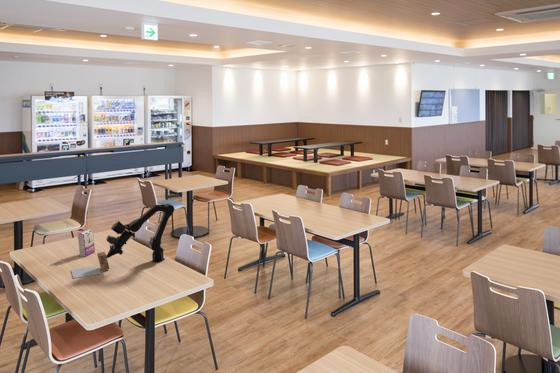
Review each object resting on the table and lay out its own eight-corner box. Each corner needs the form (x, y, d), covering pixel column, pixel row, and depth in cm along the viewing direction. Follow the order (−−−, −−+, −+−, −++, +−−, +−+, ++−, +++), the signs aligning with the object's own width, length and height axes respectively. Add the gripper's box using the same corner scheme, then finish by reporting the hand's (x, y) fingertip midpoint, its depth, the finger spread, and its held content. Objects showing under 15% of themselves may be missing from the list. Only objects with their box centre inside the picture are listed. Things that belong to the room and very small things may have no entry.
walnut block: (107, 265, 311) (104, 251, 309) (109, 269, 305) (105, 254, 303) (100, 268, 309) (97, 253, 307) (102, 271, 303) (98, 256, 301)
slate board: (97, 266, 313) (97, 265, 313) (101, 273, 299) (101, 273, 299) (71, 270, 305) (70, 269, 305) (73, 278, 292) (73, 278, 291)
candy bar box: (88, 251, 343) (86, 229, 340) (95, 251, 342) (93, 229, 339) (79, 256, 332) (77, 233, 329) (85, 257, 331) (83, 233, 328)
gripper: (111, 227, 314) (94, 246, 311) (116, 234, 298) (98, 254, 295) (124, 237, 319) (108, 256, 316) (130, 245, 303) (112, 264, 300)
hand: (106, 257), depth 307 cm, fingers closed
